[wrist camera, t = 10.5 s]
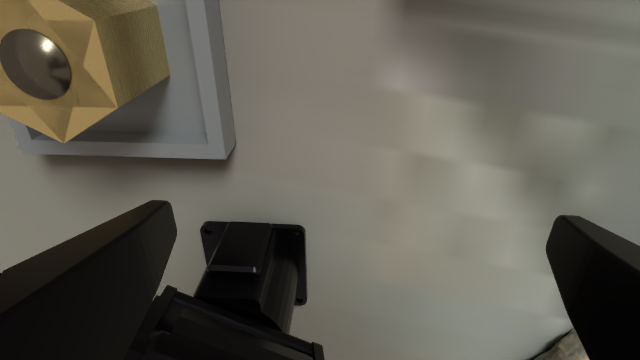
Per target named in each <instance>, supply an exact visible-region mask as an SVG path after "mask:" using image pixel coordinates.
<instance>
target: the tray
mask: <svg viewBox="0 0 640 360" xmlns="http://www.w3.org/2000/svg"><path fill="white" fill-rule="evenodd" d="M149 1H150V2H152V3H154V4H156V5H157V8H158V13H159V18H160V24H161V29H162V34H163V39H164V44H165V50H166V55H167V60H168V65H169V70H170V75H169V76H168V77H166V78H164V79H163V80H161V81H160V82H158V83H157V84H155V85H154V86H152V87H151V88H149V89H148V90H146V91H145V92H143V93H142V94H140V95H139V96H137V97H136V98H134V99H133V100H131V101H129V102H128V103H126V104H125V105H123V106H122V107H120V108H119V109H117V110H116V111H114V112H112V113H111V114H109V115H108V116H106V117H105V118H103V119H101V120H100V121H98V122H97V123H95V124H94V125H92V126H91V127H89V128H87V129H86V130H84V131H83V132H81V133H80V134H78V135H76V136H75V137H73V138H72V139H70V140H69V141H67V142H66V143H62V142H60V141H58V140H55V139H53V138H51V137H49V136H47V135H45V134H43V133H41V132H39V131H37V130H35V129H33V128H31V127H29V126H27V125H25V124H23V123H21V122H18V121H16V120H14V119H12V118H10V117H8V116H7V117H8V119H9V121H10V124H11V126H12V129H13V131H14V133H15V136H16V138H17V141H18V143H19V145H20V148H21V150H22V153H23V154H53V155H88V156H123V157H158V158H192V159H227V157H228V155H229V154H230V152H231V151H232V149H233V148H234V146H235V144H236V138H235V130H234V122H233V114H232V106H231V97H230V89H229V81H228V73H227V65H226V56H225V48H224V40H223V32H222V23H221V15H220V7H219V0H149Z"/></svg>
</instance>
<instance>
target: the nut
mask: <svg viewBox="0 0 640 360" xmlns="http://www.w3.org/2000/svg"><path fill="white" fill-rule="evenodd" d="M169 75H170V70H169V65H168V60H167V55H166V50H165V44H164V39H163V34H162V29H161V24H160V18H159V13H158V8H157V5H156V4H154V3H152V2H150V1H149V0H0V113H2V114H4V115H6V116H8V117H10V118H12V119H14V120H16V121H18V122H21V123H23V124H25V125H27V126H29V127H31V128H33V129H35V130H37V131H39V132H41V133H43V134H45V135H47V136H49V137H51V138H53V139H55V140H58V141H60V142H62V143H66V142H67V141H69V140H70V139H72V138H73V137H75V136H76V135H78V134H80V133H81V132H83V131H84V130H86V129H87V128H89V127H91V126H92V125H94V124H95V123H97V122H98V121H100V120H101V119H103V118H105V117H106V116H108V115H109V114H111V113H112V112H114V111H116V110H117V109H119V108H120V107H122V106H123V105H125V104H126V103H128V102H129V101H131V100H133V99H134V98H136V97H137V96H139V95H140V94H142V93H143V92H145V91H146V90H148V89H149V88H151V87H152V86H154V85H155V84H157V83H158V82H160V81H161V80H163V79H164V78H166V77H168V76H169Z"/></svg>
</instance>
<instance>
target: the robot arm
mask: <svg viewBox="0 0 640 360" xmlns="http://www.w3.org/2000/svg"><path fill="white" fill-rule="evenodd" d="M207 228H209V229H211V230H212V231H209V230H207ZM200 232H201V237H202V242H203V248H204V253H205V258H206V263H207V268H206V270H205V272H204V274H203V276H202V278H201V280H200V282H199V285H198V287H197V289H196V291H195V293H194V295H193V297H192V296H189V295H187V294H184V293H181V292H179V291H177V288H174V287H172V286H169V285H167V286H166V288H165V289H164V291H163V293H162V294H161V296H158V295H157V296H156V297H155V298H154V296H155V294H156V292H157V289H158V287H159V284H160V282H161V279H162V276H163V273H164V271H165V268H166V265H167V262H168V259H169V257H170V254H171V251H172V248H173V245H174V243H175V240H176V236H177V227H176V223H175V219H174V214H173V210H172V206H171V204H170V203H169V202H168V201H162V200H151V201H149V202H147V203H145V204H143V205H141V206H138V207H136V208H134V209H132V210H130V211H128V212H126V213H124V214H122V215H119V216H117V217H115V218H113V219H111V220H109V221H107V222H105V223H103V224H101V225H98V226H96V227H94V228H92V229H90V230H88V231H86V232H84V233H82V234H79V235H77V236H75V237H73V238H71V239H69V240H67V241H65V242H63V243H61V244H58V245H56V246H54V247H52V248H50V249H48V250H46V251H44V252H42V253H40V254H37V255H35V256H33V257H31V258H29V259H27V260H25V261H23V262H21V263H18V264H16V265H14V266H12V267H10V268H8V269H6V270H4V271H3V272H2V273H0V360H324V354H323V347H322V345H320V344H317V343H315V342H312V343H309V342H307V341H304V340H302V339H299V338H297V337H294V336H292V335H289V331H290V325H291V319H292V313H293V308H294V305H298V306H301V305H304V304H305V303H306V302H307V269H306V237H305V229H304V228H303V227H302V226H300V225H290V224H269V223H252V222H215V221H207V222H205V223H204V224H203V225H202V227H201V229H200ZM294 232H299V233H300V234H299V235H297V234H295V233H294ZM546 254H547V257H548V260H549V263H550V266H551V269H552V272H553V274H554V277H555V280H556V283H557V286H558V289H559V292H560V295H561V298H562V300H563V303H564V306H565V309H566V311H567V314H568V316H569V318H570V320H571V323H572V325H573V327H574V329H575V331H576V333H577V335H578V337H579V339H580V341H581V344H582V346H583V348H584V350H585V352H586V354H587V356H588V358H589V360H640V246H638V245H636V244H634V243H632V242H630V241H628V240H626V239H624V238H622V237H620V236H618V235H616V234H614V233H612V232H610V231H608V230H606V229H604V228H602V227H600V226H598V225H596V224H594V223H592V222H590V221H588V220H586V219H584V218H582V217H580V216H573V215H560V216H558V217H557V218H556V219H555V221H554V224H553V226H552V229H551V232H550V235H549V238H548V241H547V244H546ZM153 298H154V300H153ZM300 298H301V299H300ZM152 300H153V301H152Z"/></svg>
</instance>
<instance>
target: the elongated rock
mask: <svg viewBox="0 0 640 360" xmlns="http://www.w3.org/2000/svg"><path fill="white" fill-rule="evenodd" d="M534 360H589V358H588V356H587V354H586V352H585V350H584V348H583V346H582V344H581V341H580V339H579V337H578V335H577V333H576V331H575V329H572V330H571V331H570V332H569V334H568V335H567V336H566V337H564V338H562V339H561V341H559V342H557V343H556V344H555V346H553V348H552V349H551V350H549V351H547V352H545V353H543V354H541V355H539V356H538V357H537V358H535V359H534Z"/></svg>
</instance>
